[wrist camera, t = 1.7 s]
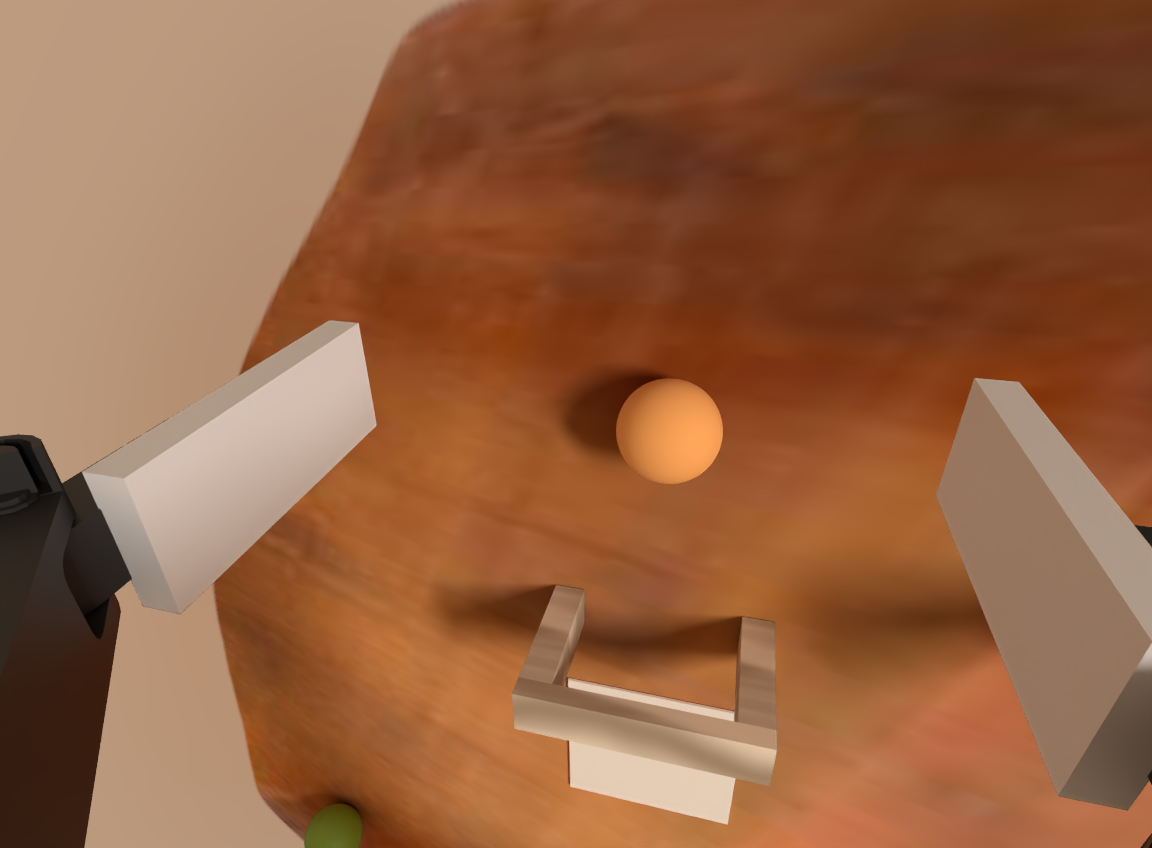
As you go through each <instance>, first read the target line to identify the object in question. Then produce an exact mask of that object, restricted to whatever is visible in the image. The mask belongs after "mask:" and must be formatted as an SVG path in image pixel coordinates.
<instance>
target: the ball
mask: <svg viewBox="0 0 1152 848" xmlns="http://www.w3.org/2000/svg"><path fill="white" fill-rule="evenodd" d="M722 437H723V426H722V420H721V416H720V413H719V410H718V408H717V406H716V405H715V403H714V401H713V400H712V399H711V398H710V396H709V395H708V394H707V393H706V392H705V391H704V390H702V389H701V388H700V387H698V386H696V385H695V384H693V383H690V382H688V381H685V380H681V379H675V378H665V379H658V380H654V381H651V382H649V383H646V384H644V385H642V386H641V387H639V388H638V389H636V390H635V391H634V392H633V393H632V394H631V395H630V396H629V397H628V398H627V400H626V401H625V403H624V404H623V406H622V408H621V410H620V413H619V416H618V420H617V425H616V438H617V443H618V446H619V449H620V452H621V454H622V456H623V458H624V459H625V461H626V462H627V464H628V465H629V466H630V467H631V468H632V469H633V470H634V471H635V472H636V473H638V474H639V475H641V476H642V477H644V478H646V479H648V480H651V481H654V482H658V483H663V484H676V483H682V482H686V481H688V480H691V479H693V478H695V477H697V476H698V475H700V474H701V473H703V472H704V471H705V470H706V469H707V468H708V467H709V466H710V465H711V464H712V462H713V461H714V459H715V458H716V456H717V454H718V452H719V449H720V447H721V443H722Z"/></svg>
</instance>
